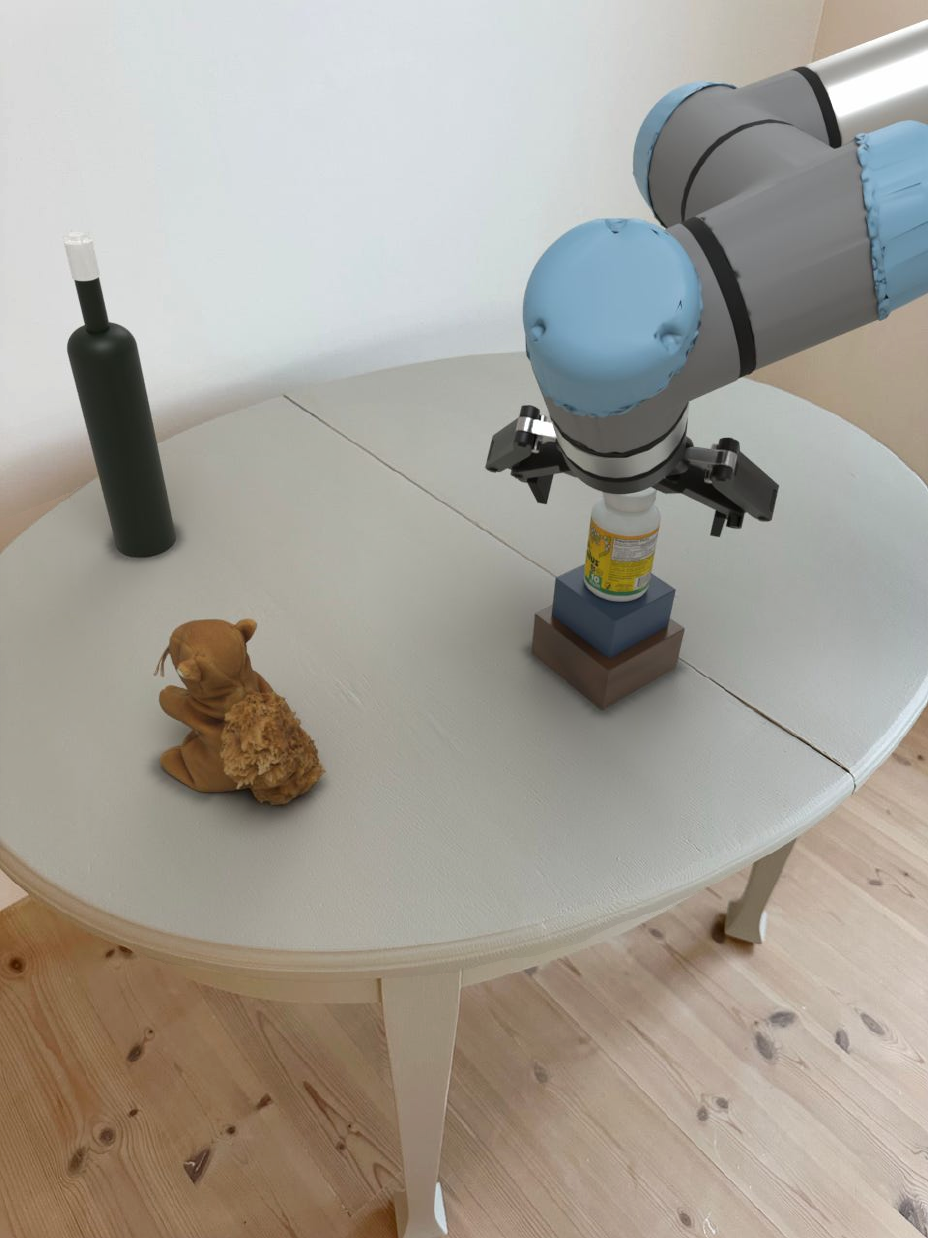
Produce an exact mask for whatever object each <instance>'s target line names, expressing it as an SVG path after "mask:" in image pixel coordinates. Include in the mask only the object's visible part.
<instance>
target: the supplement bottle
mask: <svg viewBox="0 0 928 1238" xmlns="http://www.w3.org/2000/svg"><path fill="white" fill-rule="evenodd" d="M657 491H658V490H656V489H654V488H652V487H650V488H648V489H645V490H643V491H640V492H636V493H631V494H610V493H605V492H601V493H602V496H600V497H599V498H598V499H597V500H596V501H595V502H594V504H593V505H592V508H591V514H590V521H589V528H588V537H587V546H586V547H587V548H586V553H585V560H584V561H585V562H584V564H585V568H584V582H585V584H586V586H587V588H588V589H589V590H590V591H591V592H593V593H594V594H595V595H597V596H598V597H600V598H603V599H606V600H609V601H615V602H626V601H631V600H635V599H637V598H639V597H640V596H642V595H643V594H644V593H645V592H646V591H647V589H648V586H649V582H650V577H651V573H652V571H653V566H654V560H655V559H654V558H655V555H656V549H657V543H658V539H659V538H658V537H659V533H660V527H661V522H662V521H661V519H662V517H661V516H662V515H661V511H660V509H659V507H658V506H657V504H656V503H655V502H656V500H657Z"/></svg>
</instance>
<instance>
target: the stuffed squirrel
mask: <svg viewBox="0 0 928 1238" xmlns="http://www.w3.org/2000/svg"><path fill="white" fill-rule="evenodd" d="M257 628H258V622H257V621H256V619H254V618H243V619H240V620H238V621H237V622H236V623H235V624H233V623H231V622H230V621H227V620H225V619H219V618H209V619H208V618H206V619H194V620H190V621H186V622H184V623H182V624H180V625H179V626H177V627H176V628H175V629H174V630H173V631H172V633H171V636H170V637H169V642H168V645H167V646H166V648H165V649H164V651H163V653H162V654H161V656H160V658H159V660H158V663H157V665H156V668H155V670H154V672H153V676H154V677H156V676H157V675H158V673H159V672H160V677H162V678H164V677H165V662H166V659H167V657H168V655H169V656H170V660H171V663H172V665H173V667H174V669H175V672H176V673H177V675H178V677H179V678H180V681H181V682H182V683H183V685H184V686H185V688H184V687H180V686H177V685H172V684H169V685H167V686H165V688H164V689H161V691H159V695H158V703H159V706H160V708H161V709H162V711H163V713H165V714H166V715H167V716H169V717H171V718H172V719H174V720H176V721H178V722H180V723H182V724H183V725H184V726H187V727H188V728H189V729H191V731H190V732H189V733H188V734H187V735H186V736H185V738H184V739H183V741H182V743H181V745H176V746H173V747H169V748H168V749H166V750H164V751H163V753H162V754H161V756H160V758H159V764H160V766H161V767H162V768H163V770H164V771H166V773H167V774H169V775H170V776H171V777H173V778H174V779H176V780H178V781H179V782H181V783H183V784H184V785H186V786H187V787H189V788H191V789H192V790H195V791H197V792H200V793H224V792H232V791H233V792H234V791H238V790H245V789H250V791H252V792H251V794H253V797H255V798H256V800H257V801H259V803H260V804H262V803H264V802H269V804H270V805H271V806H276V805H286V804H288V803H290V802H291V800H293V799H294V798H297V796H299V795H303V794H305V793H307V792H309V791H310V790H311V789H312V787H313V786H314V785H315V784H317V783H318V782H319V780H320V778H321V777H322V776H323V775H324V773H326V772H327V771H326V769H323V764H321V763H320V759H319V756H318V755H319V751H318V748H317V746H316V745H315V739H312V737H311V735H309V734H308V733H307V731H305V729H303V728H302V727H301V724H302V720H301V719H300V718H298V717H297V716H296V714H297V711H292V710H291V707H290V706H289V704H288V703H287V701H286V699H287V697H285V696H281V695H279V694H277V692H276V691H274V689H273V687H272V686H271V684H270V683H269V682H268V681H266V679H265V677H263V676H262V675H261V674H260V673H259V672H258V671H257V670H254V669H253V667H252V662H251V657H250V655H249V653H248V646H247V643H248V642H249V641H250V640H251V639H252V638H253V636H254V635H255V633H256V631H257ZM295 716H296V717H295Z"/></svg>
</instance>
